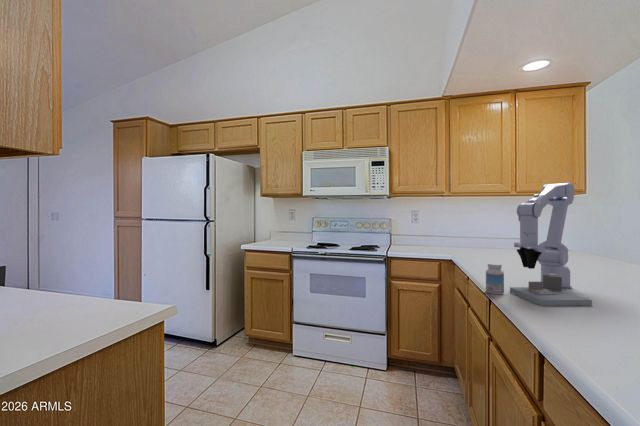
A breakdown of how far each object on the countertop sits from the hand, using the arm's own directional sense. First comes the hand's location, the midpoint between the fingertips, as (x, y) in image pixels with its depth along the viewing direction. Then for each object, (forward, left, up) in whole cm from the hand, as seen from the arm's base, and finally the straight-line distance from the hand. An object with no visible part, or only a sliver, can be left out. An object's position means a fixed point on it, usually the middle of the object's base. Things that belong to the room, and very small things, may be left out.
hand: (528, 267), depth 115 cm
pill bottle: (+14, +1, -10) cm, 17 cm away
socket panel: (0, +9, -9) cm, 13 cm away
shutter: (+1, +8, -7) cm, 11 cm away
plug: (-6, +4, -7) cm, 10 cm away
